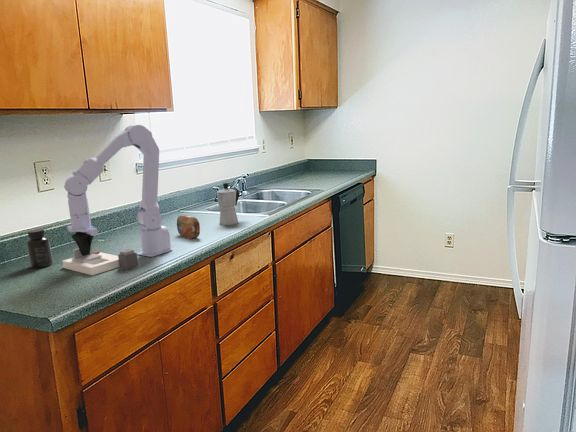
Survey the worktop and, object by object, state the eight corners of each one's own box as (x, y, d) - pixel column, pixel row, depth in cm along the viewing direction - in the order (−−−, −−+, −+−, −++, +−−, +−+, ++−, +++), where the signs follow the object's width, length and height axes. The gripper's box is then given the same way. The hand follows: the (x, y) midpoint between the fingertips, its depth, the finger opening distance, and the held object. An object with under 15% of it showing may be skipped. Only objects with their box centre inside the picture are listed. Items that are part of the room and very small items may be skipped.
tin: (177, 234, 189) (174, 214, 188) (184, 233, 191) (182, 213, 189) (195, 240, 178) (193, 218, 176) (202, 238, 180) (200, 217, 178)
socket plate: (96, 258, 160) (95, 249, 160) (126, 264, 150) (125, 255, 150) (63, 267, 151) (61, 258, 150) (92, 275, 141) (91, 265, 140)
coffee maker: (227, 227, 198) (224, 185, 194) (211, 225, 202) (208, 184, 199) (248, 220, 210) (245, 180, 206) (233, 218, 215) (230, 180, 211)
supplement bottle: (57, 261, 159) (51, 227, 156) (47, 267, 152) (41, 232, 150) (36, 263, 158) (30, 229, 156) (26, 269, 152) (20, 233, 149)
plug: (130, 265, 150) (128, 248, 149) (138, 266, 147) (136, 249, 146) (119, 268, 147) (117, 251, 146) (127, 270, 144) (125, 253, 143)
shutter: (90, 254, 155) (89, 244, 155) (101, 257, 151) (100, 247, 151) (71, 260, 150) (70, 249, 149) (82, 262, 146) (81, 252, 145)
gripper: (55, 214, 149) (62, 255, 152) (80, 217, 141) (86, 260, 143) (76, 210, 155) (82, 249, 157) (101, 213, 146) (107, 254, 149)
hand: (85, 254), depth 151 cm, fingers closed
